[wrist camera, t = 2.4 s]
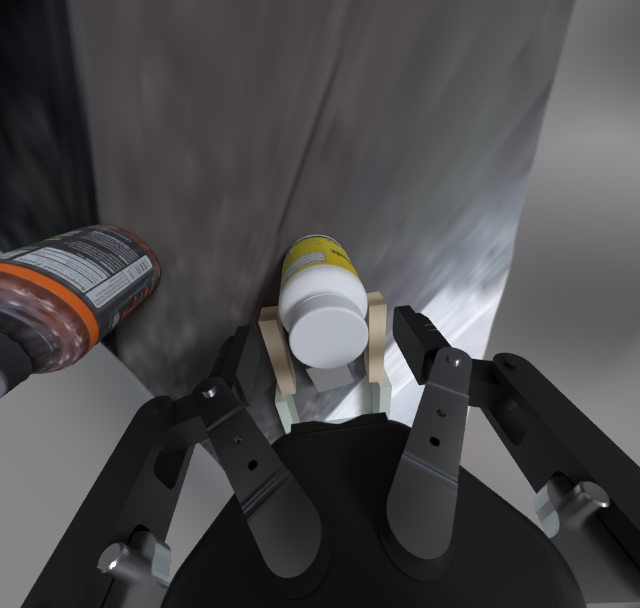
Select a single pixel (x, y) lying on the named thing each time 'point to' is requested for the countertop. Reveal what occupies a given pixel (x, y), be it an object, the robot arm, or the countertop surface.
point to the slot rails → (281, 354)
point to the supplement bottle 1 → (68, 297)
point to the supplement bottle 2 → (322, 303)
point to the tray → (290, 416)
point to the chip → (330, 377)
